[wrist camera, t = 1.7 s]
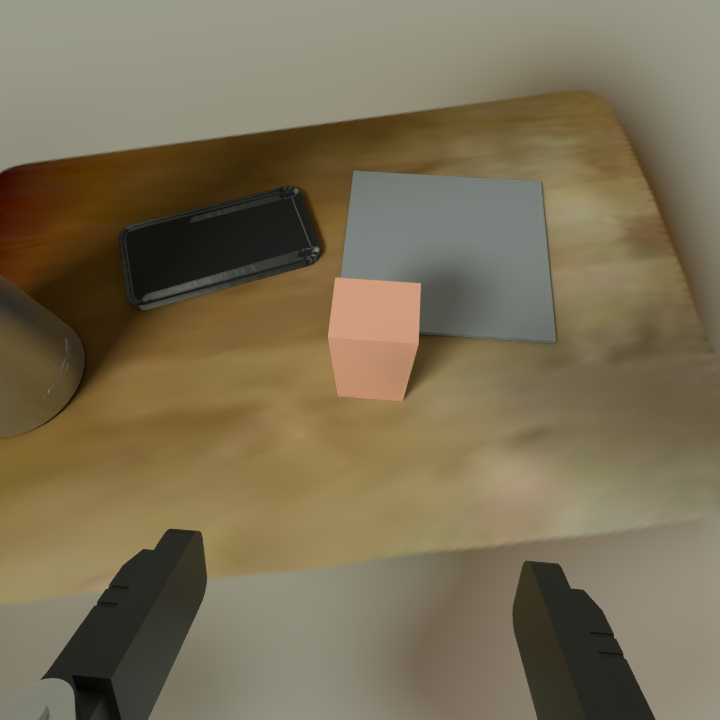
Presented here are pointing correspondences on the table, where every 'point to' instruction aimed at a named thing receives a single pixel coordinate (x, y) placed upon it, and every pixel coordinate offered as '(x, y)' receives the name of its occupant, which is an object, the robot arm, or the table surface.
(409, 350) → the block
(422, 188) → the mat
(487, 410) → the table surface
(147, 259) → the phone
